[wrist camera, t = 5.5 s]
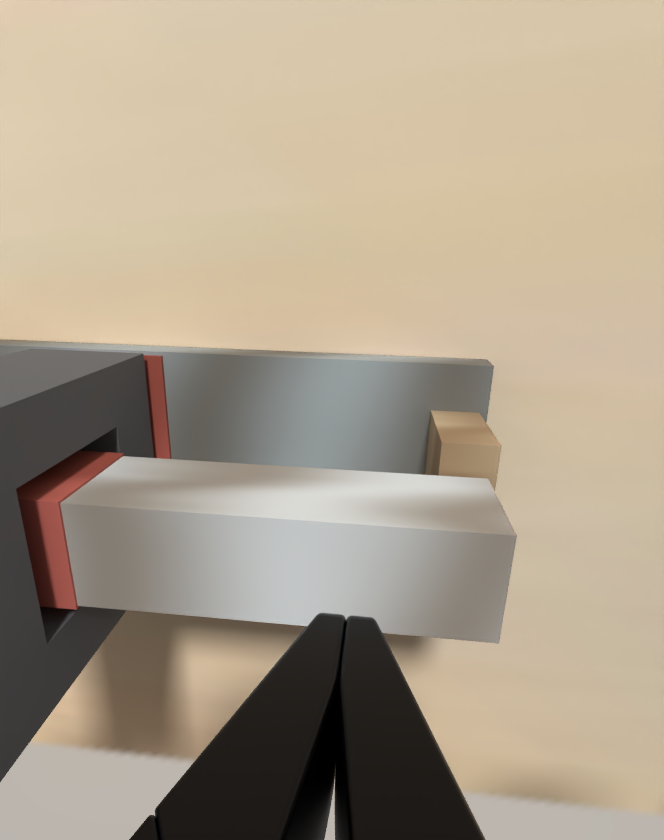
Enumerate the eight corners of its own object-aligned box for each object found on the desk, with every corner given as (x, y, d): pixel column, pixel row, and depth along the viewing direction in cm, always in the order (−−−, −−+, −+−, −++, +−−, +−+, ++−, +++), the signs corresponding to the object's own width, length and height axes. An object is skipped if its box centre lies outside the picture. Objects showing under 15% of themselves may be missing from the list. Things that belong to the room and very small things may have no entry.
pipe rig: (486, 359, 12) (563, 428, 7) (461, 559, 14) (508, 728, 9) (-21, 338, 14) (-268, 385, 8) (17, 525, 15) (-166, 658, 10)
